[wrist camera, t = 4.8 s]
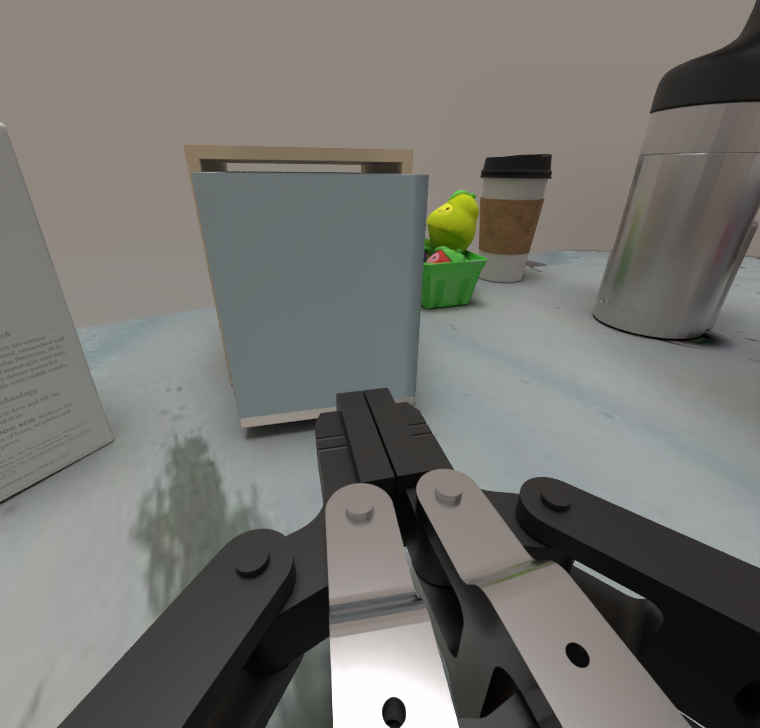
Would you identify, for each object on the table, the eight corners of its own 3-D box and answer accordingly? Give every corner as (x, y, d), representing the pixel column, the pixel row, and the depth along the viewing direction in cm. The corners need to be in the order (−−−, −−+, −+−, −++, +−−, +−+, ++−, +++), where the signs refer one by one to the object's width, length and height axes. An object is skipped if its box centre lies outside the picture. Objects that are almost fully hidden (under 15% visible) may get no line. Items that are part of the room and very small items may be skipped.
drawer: (357, 307, 37) (354, 172, 32) (414, 405, 22) (428, 174, 16) (257, 314, 35) (235, 171, 30) (241, 428, 20) (190, 172, 14)
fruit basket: (382, 286, 48) (383, 188, 42) (444, 280, 50) (452, 188, 45) (420, 315, 38) (428, 193, 33) (494, 306, 41) (512, 192, 36)
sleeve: (368, 314, 38) (368, 156, 31) (403, 368, 28) (412, 150, 21) (245, 323, 35) (216, 153, 29) (231, 387, 25) (183, 144, 19)
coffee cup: (544, 279, 51) (571, 153, 44) (504, 288, 47) (526, 151, 40) (495, 267, 57) (512, 155, 50) (455, 274, 53) (468, 153, 46)
